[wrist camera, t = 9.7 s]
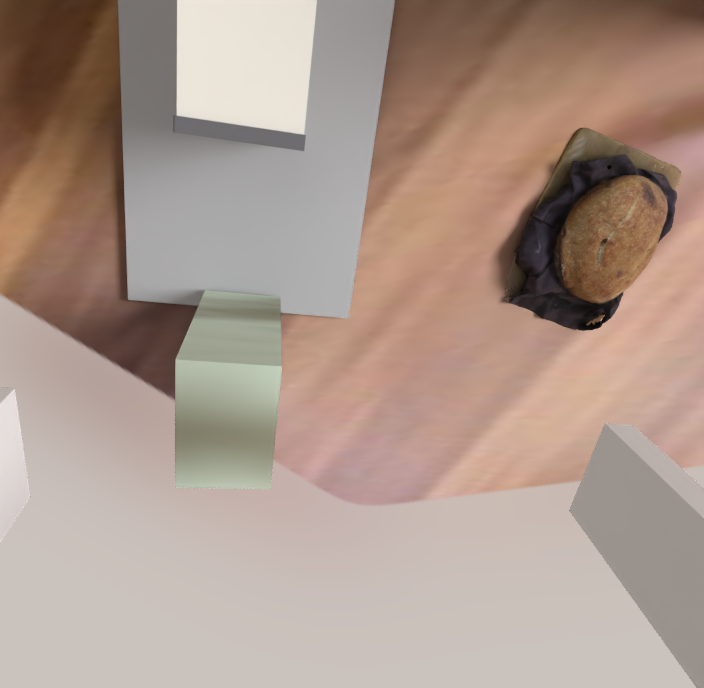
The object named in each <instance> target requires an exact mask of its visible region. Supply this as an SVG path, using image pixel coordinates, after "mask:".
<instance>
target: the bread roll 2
mask: <svg viewBox="0 0 704 688" xmlns="http://www.w3.org/2000/svg"><path fill="white" fill-rule="evenodd" d="M680 178H681V171H680V170H679V169H678V168H677V167H675V166H672V165H670V164H667V163H665V162H662V161H660V160H658V159H656V158H654V157H652V156H650V155H648V154H645V153H643V152H641V151H639V150H636V149H634V148H632V147H629V146H627V145H625V144H622V143H620V142H618V141H616V140H613V139H611V138H609V137H607V136H604V135H602V134H600V133H597V132H595V131H593V130H590V129H588V128H581V129H579V130H577V131H576V133H575V135H574V136H573V138H572V140H571V141H570V143H569V144H568V146H567V148H566V150H565V151H564V153H563V155H562V157H561V160H560V162H559V163H558V165H557V167H556V169H555V171H554V172H553V174H552V177H551V178H550V180H549V182H548V184H547V186H546V188H545V190H544V191H543V194H542V196H541V197H540V199H539V202H538V204H537V206H536V208H535V210H534V212H533V213H532V215H531V218H530V220H529V222H528V223H527V225H526V229H525V231H524V235H523V238H522V240H521V242H520V245H519V246H518V247H517V249H516V251H515V252H516V255H515V258H514V260H513V264H512V266H511V269H510V273H509V274H508V279H507V281H506V287H505V289H508V291H510V290H511V289H512V286H514V287H515V289H514V290H512V291H511V292H510V294H511V296H508V297H506V298H505V297H504V300H506V301H507V302H509V303H511V304H514V305H517V306H519V307H523V308H526V309H529V310H531V311H533V312H535V313H536V314H538V315H539V316H540V317H542V318H545V319H547V320H551V321H554V322H556V323H558V324H560V325H563V326H565V327H569V328H572V329H578V330H582V331H585V330H593V329H598V328H600V327H601V326H602V324H603V323H605V322H606V321H608V320H609V319H610V318H611V317H612V316H613V314H614V313H615V311H616V310H617V308H618V306H619V303H620V301H621V297H622V296H623V292H624V291H625V290H626V289H627V288H628V287H629V286H631V285H632V284H633V282H634V281H635V280H636V279H637V277H638V276H639V275H640V274H641V272H642V271H643V270H644V269H645V267H646V266H647V264H648V263H649V262H650V260H651V258H652V256H653V254H654V252H655V249H656V246H657V244H658V243H659V241H660V240H661V239H662V238H663V237H664V236H665V235H666V234H667V233H668V232H669V231H670V229H671V228H672V224H673V217H674V213H675V203H676V199H677V193H676V191H675V189H676V187H677V186H678V185H679V183H680ZM604 315H605V316H604ZM603 316H604V317H603ZM602 317H603V318H602ZM601 319H603V320H602V321H601V322H600V320H601Z"/></svg>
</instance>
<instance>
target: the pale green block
mask: <svg viewBox="0 0 704 688" xmlns="http://www.w3.org/2000/svg"><path fill="white" fill-rule="evenodd" d="M281 372H282V344H281V301H280V297H277V296H266V295H255V294H244V293H233V292H222V291H211V290H205V292H204V294H203V296H202V299H201V301H200V303H199V306H198V308H197V310H196V313H195V315H194V317H193V320H192V322H191V324H190V327H189V329H188V331H187V334H186V336H185V338H184V341H183V343H182V345H181V348H180V350H179V352H178V355H177V357H176V359H175V487H185V488H186V487H188V488H233V489H237V488H238V489H270V487H271V476H272V466H273V456H274V445H275V435H276V424H277V414H278V403H279V393H280V382H281Z"/></svg>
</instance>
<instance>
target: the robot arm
mask: <svg viewBox="0 0 704 688" xmlns="http://www.w3.org/2000/svg"><path fill="white" fill-rule="evenodd" d="M29 498H30V490H29V483H28V476H27V469H26V462H25V456H24V448H23V441H22V434H21V428H20V421H19V414H18V407H17V400H16V394H15V388H2V387H0V543H1V541H2V539H3V538H4V536H5V535H6V533H7V532H8V530H9V529H10V527H11V526H12V524H13V523H14V521H15V520H16V518H17V516H18V515H19V514H20V512H21V510H22V509H23V507H24V506H25V504H26V503H27V501H28V500H29ZM569 511H570V512H571V514H572V515H573V516H574V518H575V519H576V521H577V522H578V523H579V525H580V526H581V527H582V529H583V530H584V532H585V533H586V534H587V536H588V537H589V539H590V540H591V541H592V543H593V544H594V546H595V547H596V548H597V550H598V551H599V552H600V554H601V555H602V557H603V558H604V559H605V561H606V562H607V564H608V565H609V566H610V568H611V569H612V571H613V572H614V573H615V575H616V576H617V578H618V579H619V580H620V582H621V583H622V584H623V586H624V587H625V589H626V590H627V591H628V593H629V594H630V596H631V597H632V598H633V600H634V601H635V602H636V604H637V605H638V606H639V608H640V610H641V611H642V612H643V614H644V615H645V616H646V618H647V619H648V621H649V622H650V623H651V625H652V626H653V627H654V629H655V630H656V632H657V633H658V634H659V636H660V637H661V639H662V640H663V641H664V643H665V644H666V646H667V647H668V648H669V650H670V651H671V653H672V654H673V655H674V657H675V658H676V660H677V661H678V662H679V664H680V665H681V666H682V668H683V669H684V671H685V672H686V673H687V675H688V676H689V678H690V679H691V680H692V682H693V683H694V685H695V686H696V687H697V688H704V488H703V487H702V486H701V485H700V484H698V483H697V482H696V481H695V480H694V479H693V478H692V477H691V476H689V475H688V474H687V473H686V472H685V471H684V470H683V469H682V468H681V467H679V466H678V465H677V464H676V463H675V462H674V461H673V460H672V459H671V458H669V457H668V456H667V455H666V454H665V453H664V452H663V451H662V450H660V449H659V448H658V447H657V446H656V445H655V444H654V443H653V442H651V441H650V440H649V439H648V438H647V437H646V436H645V435H644V434H643V433H641V432H640V431H639V430H638V429H637V428H636V427H635V426H634V425H627V424H610V423H605V425H604V427H603V430H602V432H601V434H600V437H599V439H598V442H597V444H596V447H595V449H594V451H593V454H592V456H591V459H590V461H589V463H588V466H587V468H586V471H585V473H584V476H583V478H582V480H581V483H580V486H579V488H578V490H577V493H576V495H575V497H574V500H573V502H572V505H571V507H570V510H569Z"/></svg>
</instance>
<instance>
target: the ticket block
mask: <svg viewBox="0 0 704 688" xmlns="http://www.w3.org/2000/svg"><path fill="white" fill-rule="evenodd" d="M394 4H395V0H118V18H119V48H120V77H121V107H122V137H123V166H124V196H125V226H126V255H127V285H128V300H136V301H148V302H160V303H172V304H184V305H195V306H199V303H200V301H201V299H202V296H203V294H204V292H205V290H211V291H222V292H233V293H244V294H255V295H266V296H277V297H280V301H281V313H290V314H302V315H314V316H326V317H337V318H349V312H350V305H351V298H352V291H353V285H354V278H355V271H356V264H357V257H358V250H359V244H360V237H361V230H362V223H363V216H364V209H365V203H366V196H367V189H368V182H369V175H370V168H371V162H372V155H373V148H374V141H375V134H376V127H377V121H378V114H379V107H380V100H381V93H382V86H383V80H384V73H385V66H386V59H387V52H388V45H389V38H390V32H391V25H392V18H393V11H394Z"/></svg>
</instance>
